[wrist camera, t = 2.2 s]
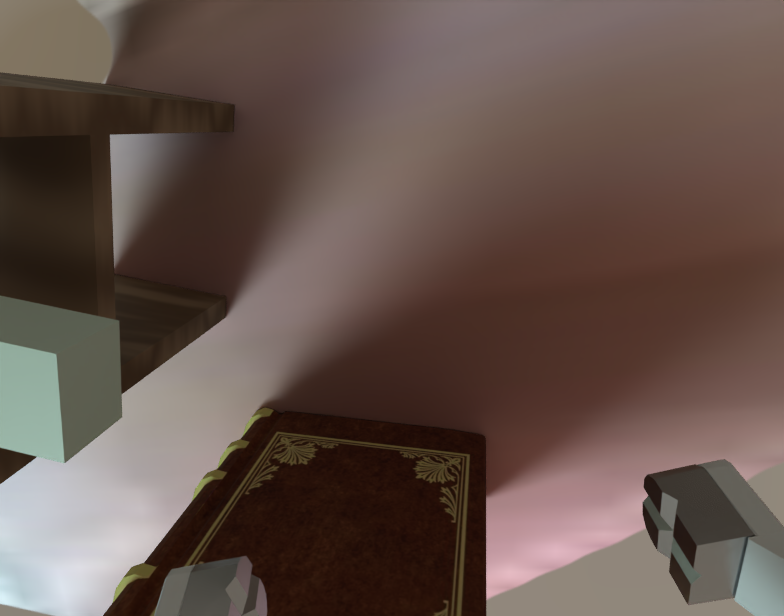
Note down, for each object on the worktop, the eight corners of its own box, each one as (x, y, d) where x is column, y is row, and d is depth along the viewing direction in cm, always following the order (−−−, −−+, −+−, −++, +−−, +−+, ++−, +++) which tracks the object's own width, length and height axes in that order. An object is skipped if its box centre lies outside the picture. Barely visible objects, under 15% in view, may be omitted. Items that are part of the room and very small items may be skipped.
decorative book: (250, 475, 53) (-10, 864, 25) (245, 404, 51) (-51, 749, 23) (478, 505, 50) (471, 989, 22) (486, 430, 47) (487, 872, 19)
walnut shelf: (104, 83, 43) (-390, 30, 19) (234, 104, 42) (-113, 76, 18) (112, 294, 49) (-253, 459, 25) (225, 317, 48) (-41, 514, 24)
